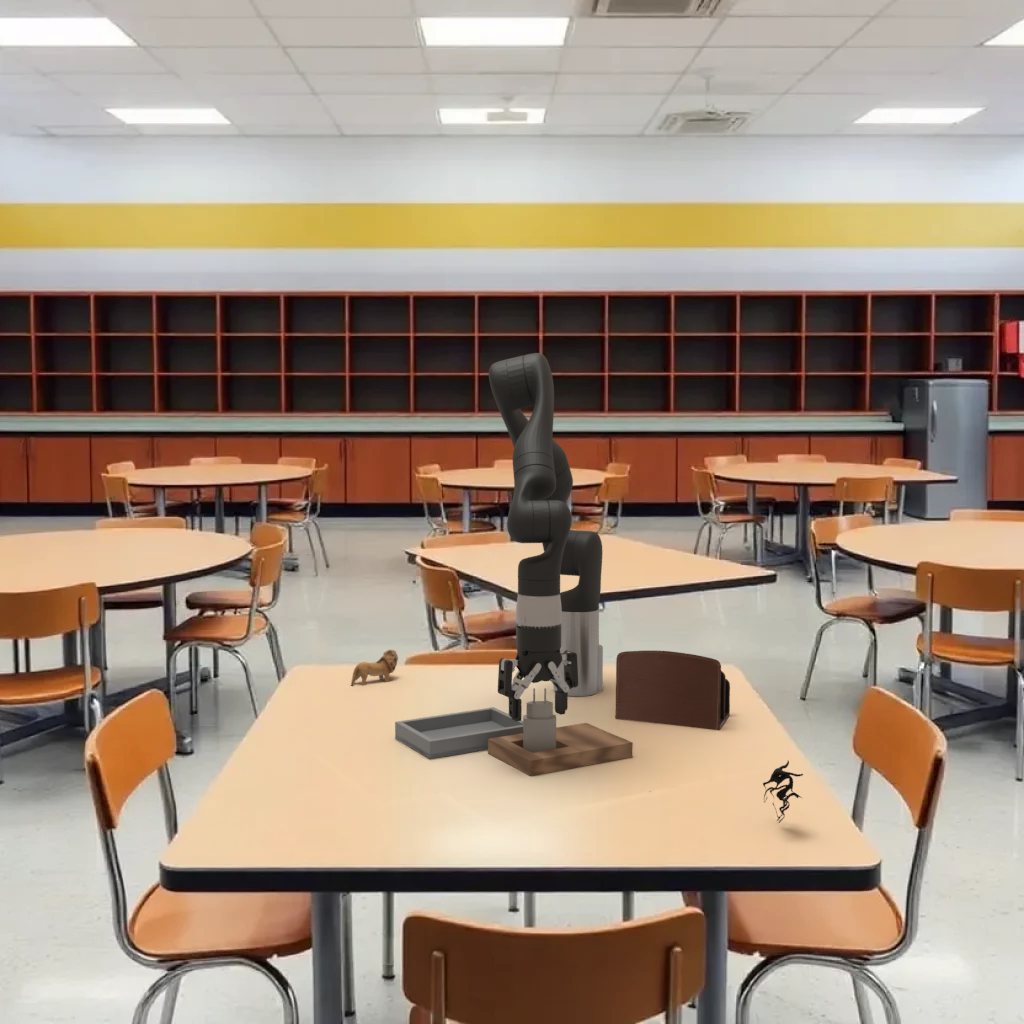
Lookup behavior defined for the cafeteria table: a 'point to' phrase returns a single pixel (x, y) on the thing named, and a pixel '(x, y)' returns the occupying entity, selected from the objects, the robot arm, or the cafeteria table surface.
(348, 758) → the cafeteria table surface
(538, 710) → the power adapter
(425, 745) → the tray
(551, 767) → the dock board
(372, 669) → the lion figurine
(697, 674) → the letter holder
